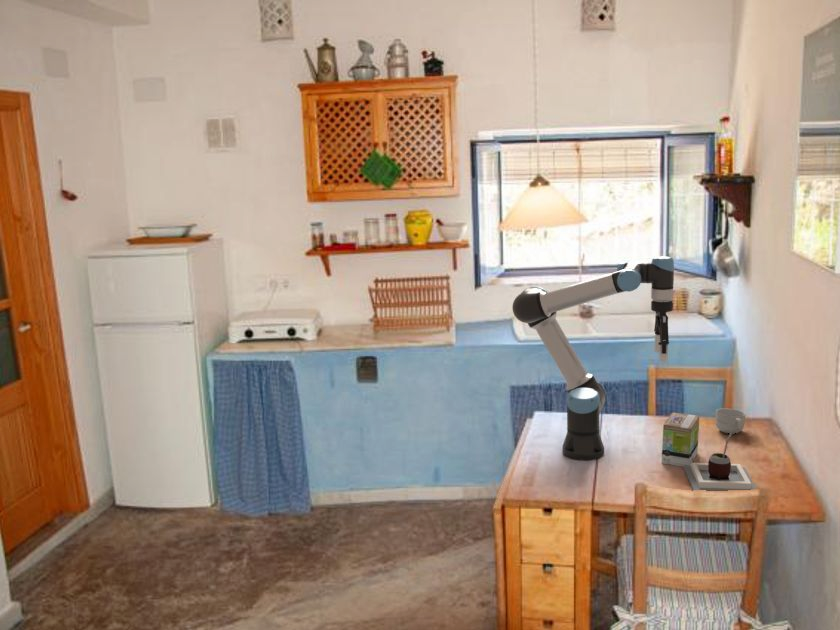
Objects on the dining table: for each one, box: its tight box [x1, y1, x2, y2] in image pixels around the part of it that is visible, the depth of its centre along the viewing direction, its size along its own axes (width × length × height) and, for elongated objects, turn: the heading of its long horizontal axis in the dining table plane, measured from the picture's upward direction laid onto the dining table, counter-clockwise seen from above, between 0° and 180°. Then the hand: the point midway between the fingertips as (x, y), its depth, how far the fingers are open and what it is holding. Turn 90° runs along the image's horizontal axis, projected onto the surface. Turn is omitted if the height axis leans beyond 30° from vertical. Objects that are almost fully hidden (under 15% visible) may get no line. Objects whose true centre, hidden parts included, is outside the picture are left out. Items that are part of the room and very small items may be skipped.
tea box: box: [661, 412, 700, 468], centre depth 281 cm, size 15×10×15 cm, turn 151°
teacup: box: [715, 407, 747, 435], centre depth 304 cm, size 14×11×8 cm
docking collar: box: [683, 462, 758, 491], centre depth 262 cm, size 20×20×3 cm
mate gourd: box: [707, 432, 733, 481], centre depth 261 cm, size 8×8×15 cm
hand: (660, 356), depth 287 cm, fingers open, 13 cm apart
